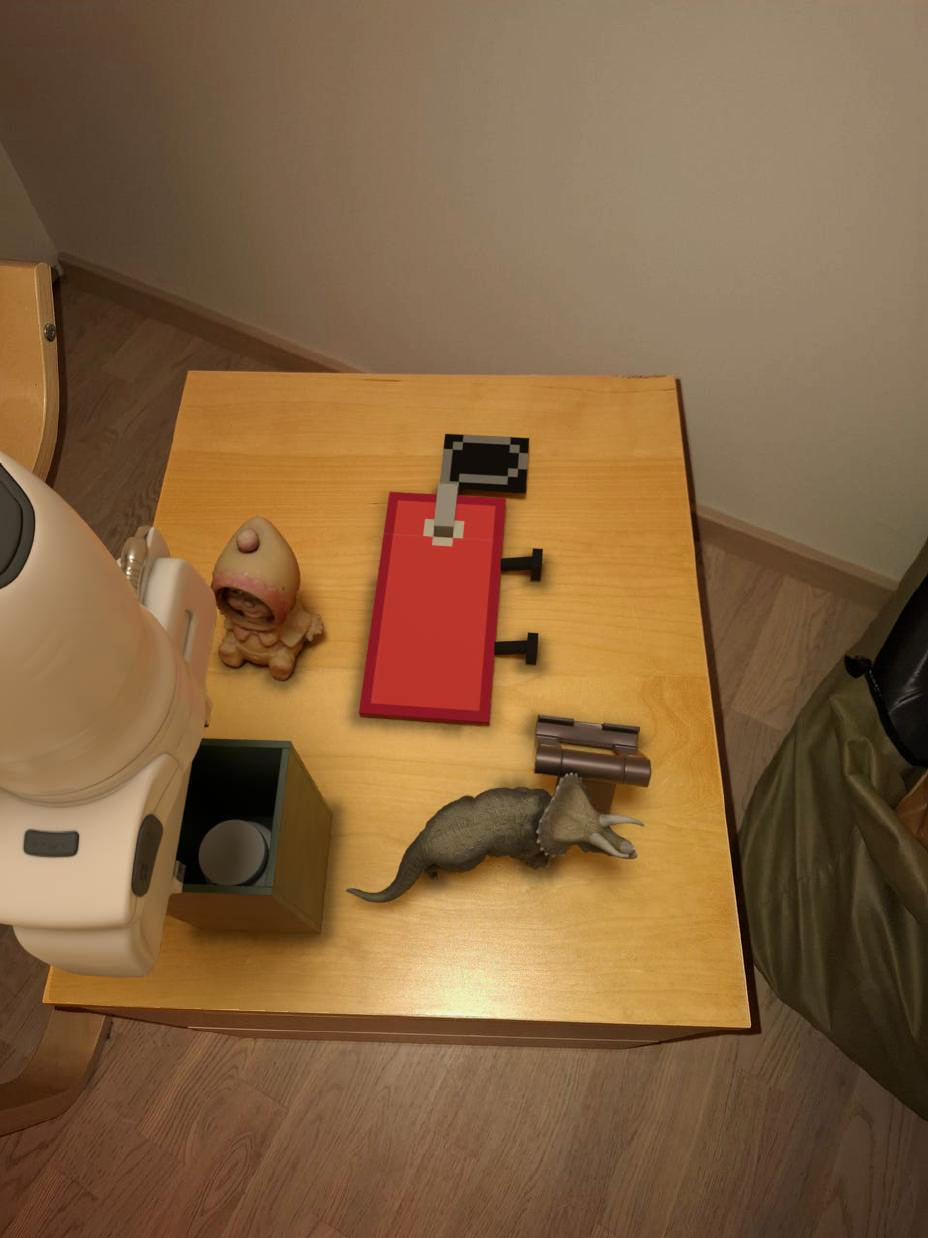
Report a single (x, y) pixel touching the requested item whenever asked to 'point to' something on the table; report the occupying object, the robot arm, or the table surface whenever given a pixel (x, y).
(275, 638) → the figurine
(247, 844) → the pill bottle
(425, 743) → the table surface
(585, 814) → the toy dinosaur
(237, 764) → the trash can
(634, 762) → the tablet stand
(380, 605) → the red board with handle
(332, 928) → the table surface
